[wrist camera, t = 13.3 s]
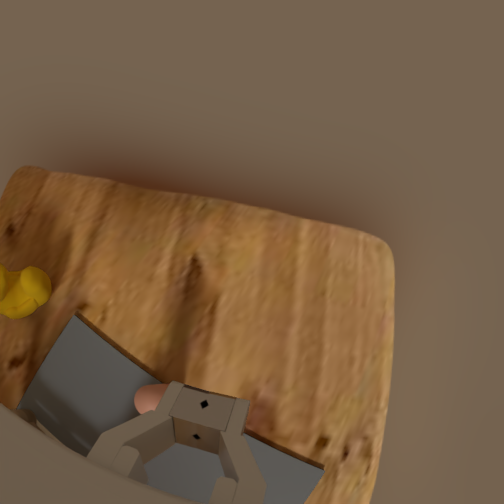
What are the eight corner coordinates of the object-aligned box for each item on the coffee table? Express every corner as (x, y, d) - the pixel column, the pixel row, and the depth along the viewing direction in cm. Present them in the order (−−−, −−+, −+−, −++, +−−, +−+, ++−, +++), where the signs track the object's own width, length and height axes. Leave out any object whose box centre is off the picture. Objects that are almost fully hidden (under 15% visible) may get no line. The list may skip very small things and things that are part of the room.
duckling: (-7, 328, 28) (-57, 308, 19) (-8, 288, 30) (-54, 259, 21) (64, 314, 30) (19, 288, 21) (60, 270, 32) (19, 233, 23)
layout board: (235, 582, 20) (235, 584, 19) (5, 434, 23) (2, 434, 23) (323, 470, 27) (325, 471, 27) (75, 315, 31) (73, 314, 30)
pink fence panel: (186, 391, 29) (174, 397, 19) (126, 487, 23) (95, 523, 14) (165, 378, 29) (144, 378, 20) (106, 474, 24) (69, 504, 14)
